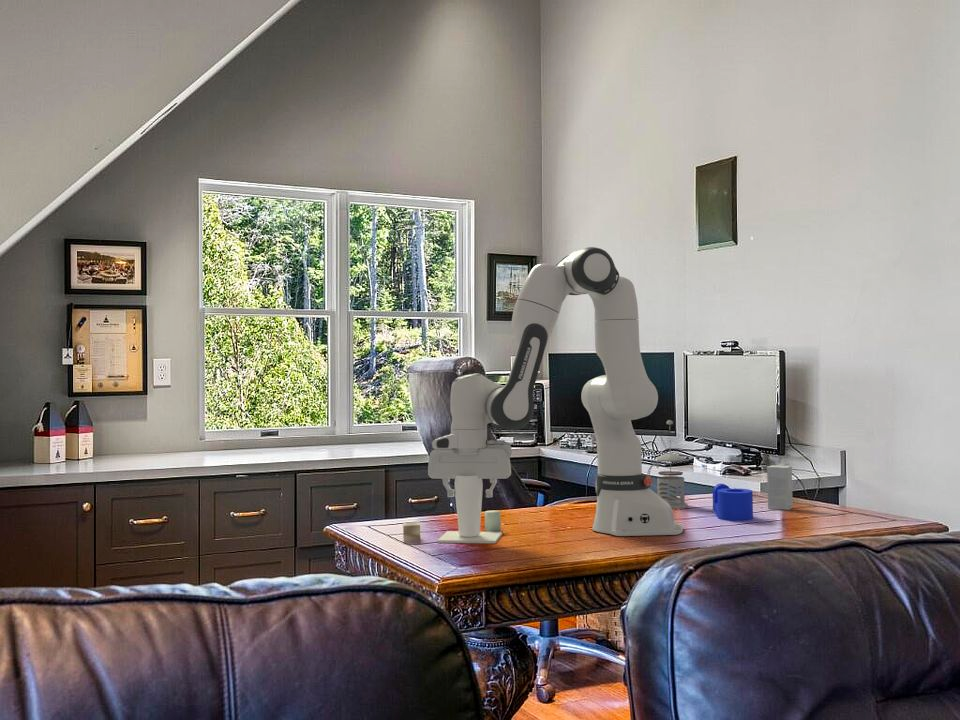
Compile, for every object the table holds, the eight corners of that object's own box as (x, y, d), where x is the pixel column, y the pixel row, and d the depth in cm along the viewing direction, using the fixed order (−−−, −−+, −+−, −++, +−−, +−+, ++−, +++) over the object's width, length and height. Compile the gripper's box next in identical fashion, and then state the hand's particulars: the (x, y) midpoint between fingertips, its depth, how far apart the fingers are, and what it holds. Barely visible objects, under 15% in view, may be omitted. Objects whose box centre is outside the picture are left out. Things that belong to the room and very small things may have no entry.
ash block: (419, 538, 235) (419, 522, 235) (420, 541, 231) (420, 525, 231) (403, 539, 234) (403, 522, 234) (403, 542, 230) (403, 525, 230)
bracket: (757, 521, 251) (756, 492, 251) (722, 522, 251) (722, 493, 251) (737, 510, 270) (737, 483, 270) (705, 510, 270) (704, 483, 270)
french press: (684, 509, 272) (682, 421, 272) (644, 507, 277) (642, 421, 277) (691, 504, 281) (690, 419, 281) (653, 502, 286) (651, 418, 286)
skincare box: (793, 508, 270) (792, 466, 270) (789, 510, 267) (788, 467, 267) (771, 506, 274) (770, 465, 274) (767, 508, 270) (766, 466, 270)
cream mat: (502, 534, 238) (502, 531, 238) (495, 543, 226) (495, 540, 226) (447, 533, 240) (447, 531, 240) (437, 542, 228) (437, 540, 228)
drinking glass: (480, 538, 229) (479, 475, 229) (452, 538, 231) (451, 475, 231) (485, 533, 236) (484, 472, 236) (458, 533, 237) (457, 472, 237)
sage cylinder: (501, 530, 244) (501, 510, 244) (499, 532, 240) (499, 513, 240) (486, 529, 245) (486, 510, 245) (483, 532, 241) (483, 512, 241)
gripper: (512, 439, 235) (513, 495, 235) (431, 439, 238) (432, 494, 238) (509, 441, 228) (510, 499, 228) (425, 441, 232) (426, 498, 232)
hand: (470, 497), depth 233 cm, fingers open, 8 cm apart
